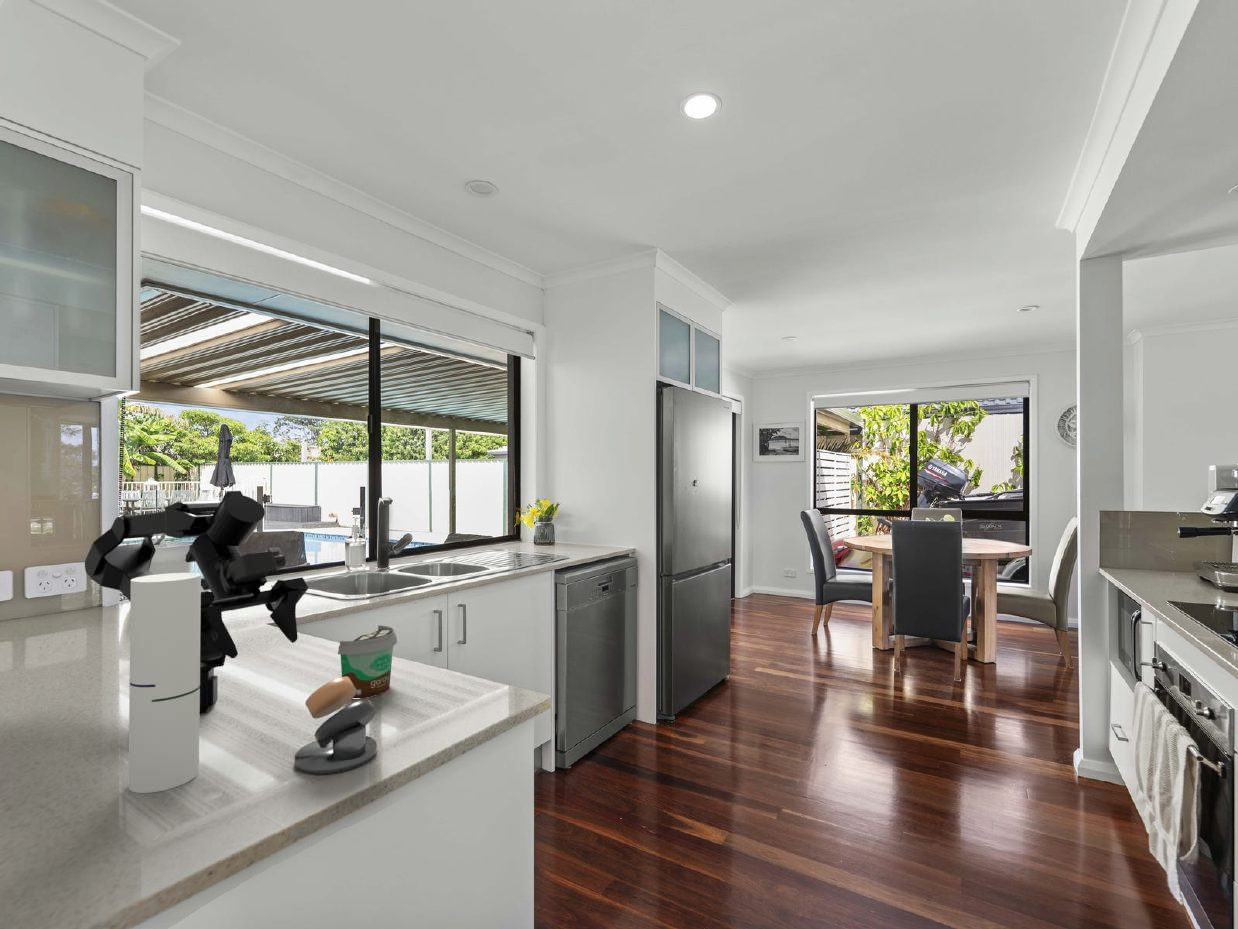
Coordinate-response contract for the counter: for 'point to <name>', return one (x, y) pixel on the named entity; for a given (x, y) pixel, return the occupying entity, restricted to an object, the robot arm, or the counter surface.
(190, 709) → the cylindrical container
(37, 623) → the counter surface
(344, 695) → the button cap
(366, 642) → the food container
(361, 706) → the button post
